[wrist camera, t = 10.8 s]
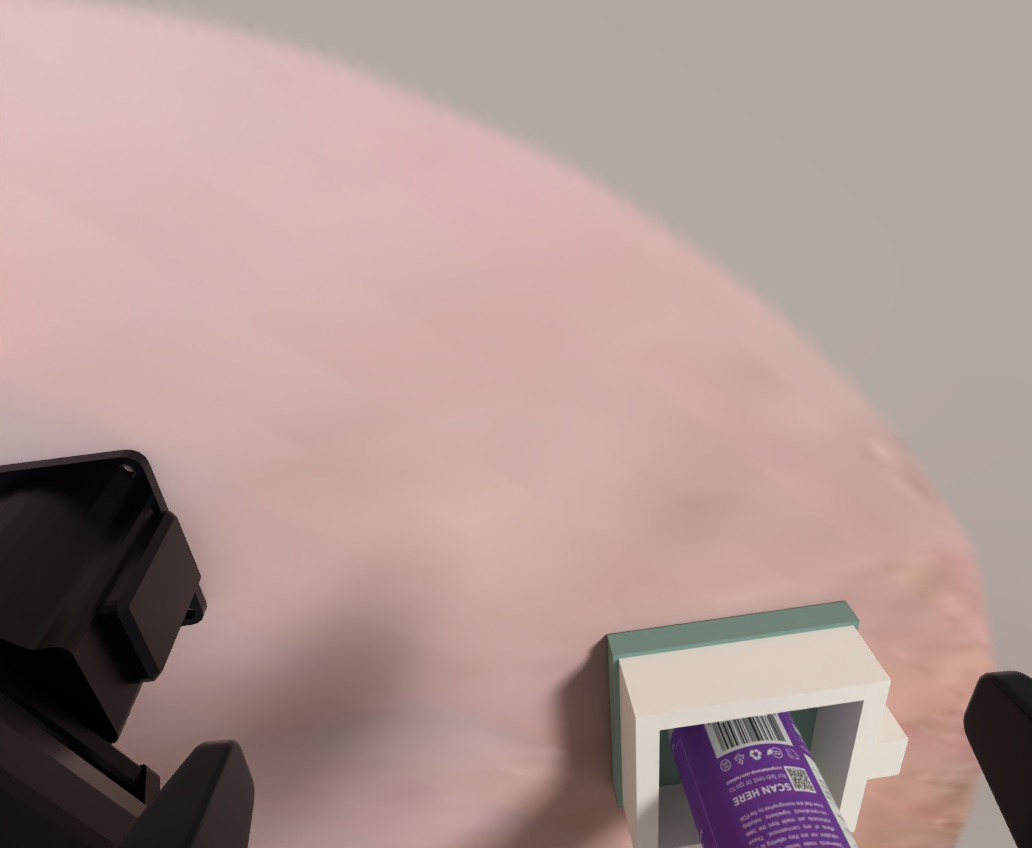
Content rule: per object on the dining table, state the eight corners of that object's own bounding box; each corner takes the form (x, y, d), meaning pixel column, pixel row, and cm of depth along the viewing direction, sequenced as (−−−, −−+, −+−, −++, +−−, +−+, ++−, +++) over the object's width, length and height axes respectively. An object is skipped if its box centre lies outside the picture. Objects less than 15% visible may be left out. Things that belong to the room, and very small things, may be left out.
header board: (613, 785, 31) (632, 868, 28) (607, 634, 27) (629, 714, 24) (839, 751, 31) (883, 830, 28) (871, 597, 27) (927, 671, 24)
